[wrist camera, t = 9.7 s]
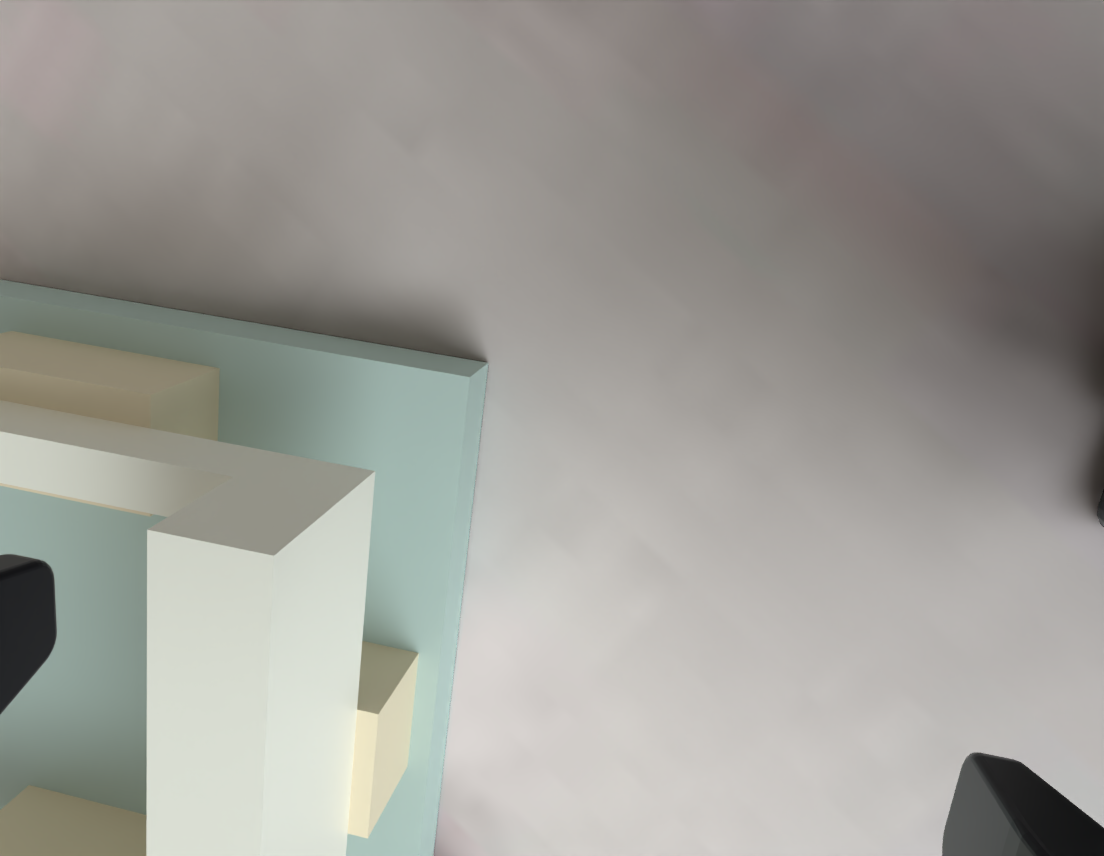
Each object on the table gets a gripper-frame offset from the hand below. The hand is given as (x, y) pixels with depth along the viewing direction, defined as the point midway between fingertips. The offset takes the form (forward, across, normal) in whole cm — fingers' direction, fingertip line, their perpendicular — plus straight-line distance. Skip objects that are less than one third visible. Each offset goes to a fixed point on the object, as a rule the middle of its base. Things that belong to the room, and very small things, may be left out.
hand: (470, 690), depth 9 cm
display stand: (+12, +9, +8) cm, 17 cm away
